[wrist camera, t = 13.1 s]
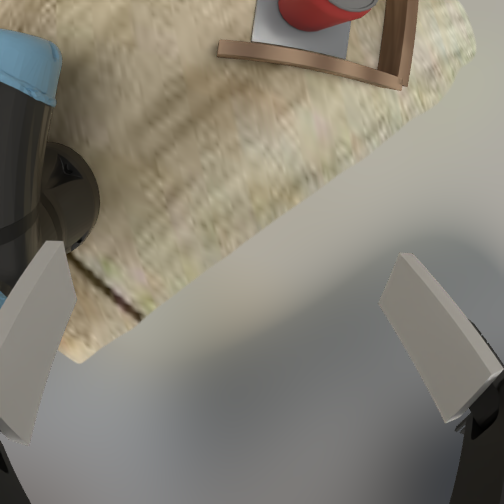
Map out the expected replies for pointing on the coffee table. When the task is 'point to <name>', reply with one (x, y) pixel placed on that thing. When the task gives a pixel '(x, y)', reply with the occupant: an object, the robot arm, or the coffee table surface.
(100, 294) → the coffee table surface
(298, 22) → the beer can
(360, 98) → the coffee table surface
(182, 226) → the coffee table surface
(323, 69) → the wooden corner frame
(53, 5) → the coffee table surface
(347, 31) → the coaster
